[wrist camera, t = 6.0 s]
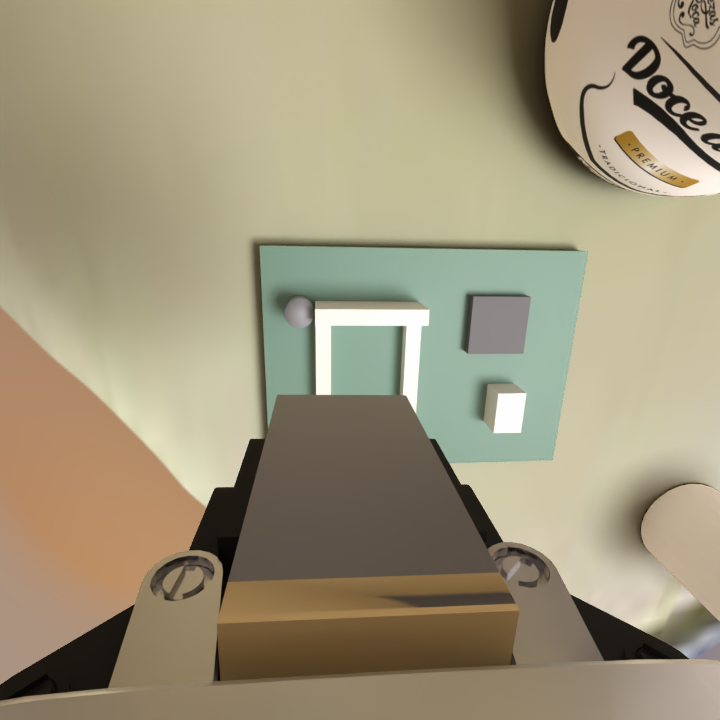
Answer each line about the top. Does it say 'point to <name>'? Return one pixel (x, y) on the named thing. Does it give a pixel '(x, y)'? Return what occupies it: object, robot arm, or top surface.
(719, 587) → the mug
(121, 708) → the robot arm
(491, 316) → the board
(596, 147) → the milk container
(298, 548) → the plug
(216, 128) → the top surface
